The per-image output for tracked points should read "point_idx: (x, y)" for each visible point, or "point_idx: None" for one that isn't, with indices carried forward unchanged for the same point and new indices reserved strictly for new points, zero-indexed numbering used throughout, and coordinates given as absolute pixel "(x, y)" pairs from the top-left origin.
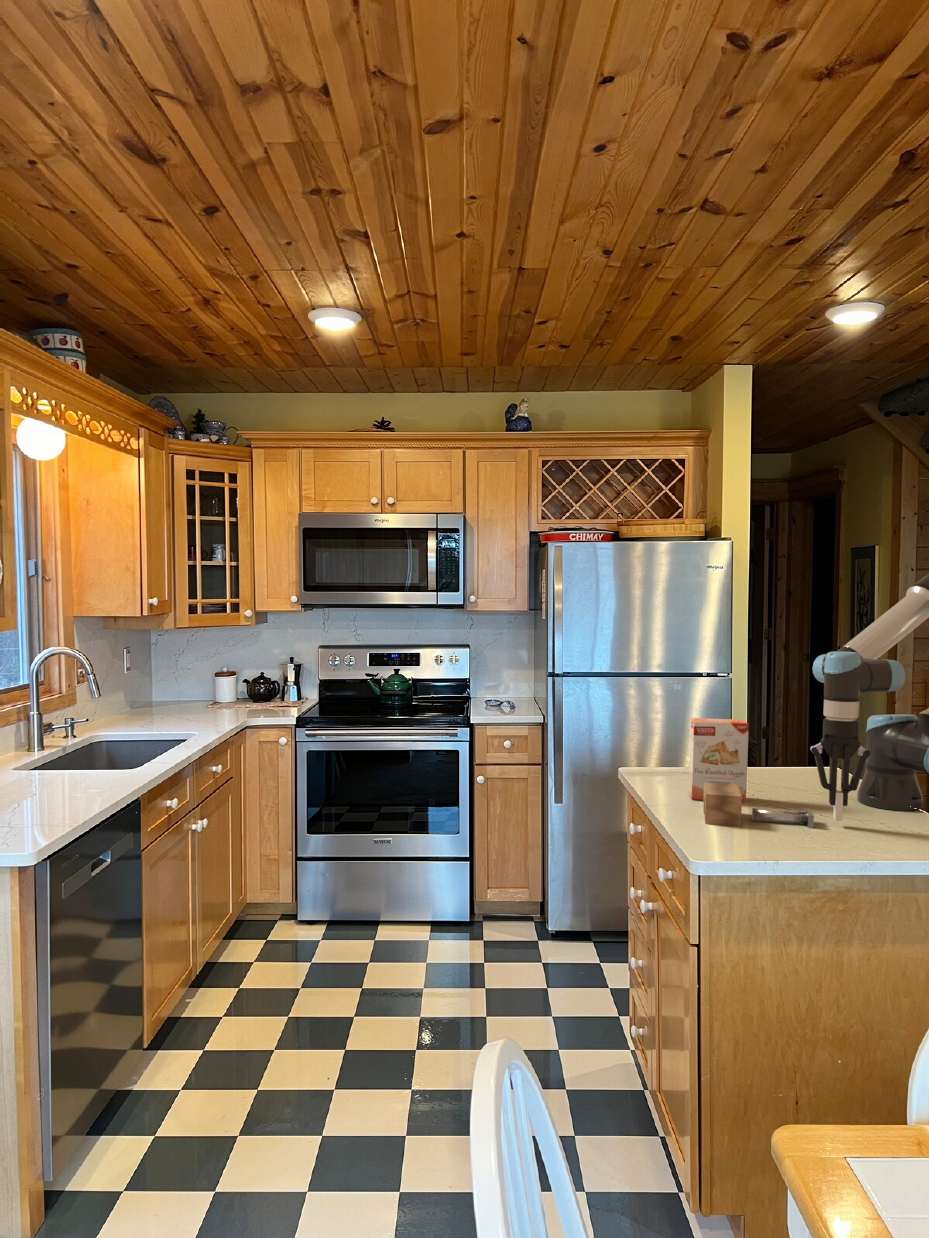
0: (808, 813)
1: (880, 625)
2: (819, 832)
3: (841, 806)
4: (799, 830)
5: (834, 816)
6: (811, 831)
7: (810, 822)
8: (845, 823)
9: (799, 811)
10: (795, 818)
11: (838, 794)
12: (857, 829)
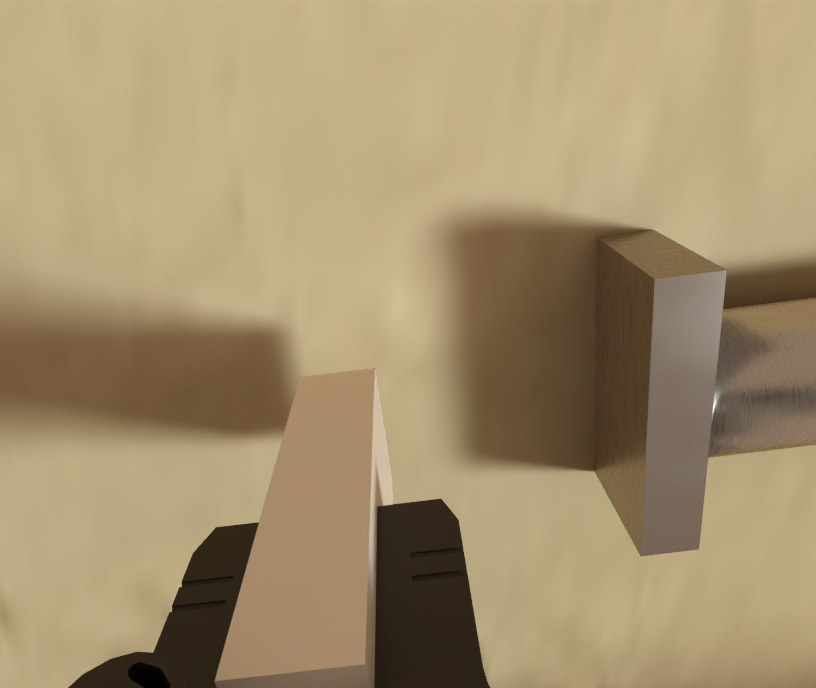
0: (701, 360)
1: None
2: (559, 67)
3: (289, 482)
4: (778, 66)
5: (383, 440)
6: (645, 77)
7: (655, 247)
8: None
9: (791, 412)
10: (812, 307)
11: (319, 633)
12: (163, 357)
